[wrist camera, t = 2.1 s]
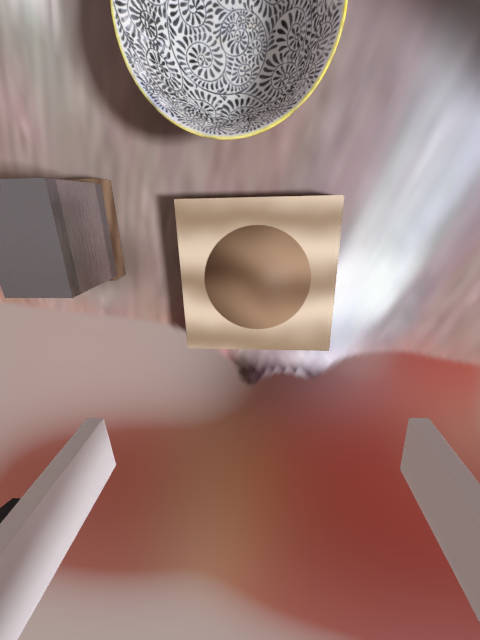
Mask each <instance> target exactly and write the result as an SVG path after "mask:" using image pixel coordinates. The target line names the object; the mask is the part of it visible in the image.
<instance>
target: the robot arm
mask: <svg viewBox="0 0 480 640" xmlns="http://www.w3.org/2000/svg"><path fill="white" fill-rule="evenodd" d="M115 466H116V463H115V460H114V456H113V452H112V448H111V445H110V441H109V437H108V433H107V430H106V427H105V422H104V419H103V418H87V419H86V420H85V422H84V423H83V424H82V425H81V426H80V428H79V429H78V430H77V431H76V433H75V434H74V435H73V436H72V437H71V438H70V440H69V441H68V442H67V443H66V445H65V446H64V447H63V448H62V449H61V451H60V452H59V453H58V454H57V455H56V457H55V458H54V459H53V460H52V462H51V463H50V464H49V465H48V467H47V468H46V469H45V470H44V471H43V473H42V474H41V475H40V476H39V477H38V479H37V480H36V481H35V482H34V483H33V485H32V486H31V487H30V488H29V490H28V491H27V492H26V493H25V494H24V496H23V497H22V498H21V499H19V498H12V499H11V500H10V501H9V502H7V503H6V504H5V505H4V506H2V507H1V508H0V640H17V639H18V637H19V636H20V634H21V632H22V630H23V629H24V627H25V625H26V623H27V622H28V620H29V618H30V616H31V614H32V613H33V611H34V609H35V607H36V606H37V604H38V602H39V600H40V599H41V597H42V595H43V593H44V592H45V589H46V588H47V586H48V584H49V583H50V581H51V579H52V577H53V576H54V574H55V572H56V570H57V569H58V567H59V565H60V563H61V561H62V560H63V558H64V556H65V554H66V553H67V551H68V549H69V547H70V546H71V544H72V542H73V540H74V538H75V537H76V535H77V533H78V531H79V530H80V528H81V526H82V524H83V523H84V521H85V519H86V517H87V515H88V514H89V512H90V510H91V508H92V507H93V505H94V503H95V501H96V500H97V497H98V496H99V494H100V492H101V491H102V489H103V487H104V485H105V483H106V482H107V480H108V478H109V477H110V474H111V473H112V471H113V469H114V468H115ZM400 469H401V471H402V473H403V475H404V477H405V479H406V481H407V483H408V485H409V487H410V489H411V491H412V493H413V495H414V496H415V498H416V500H417V502H418V504H419V506H420V508H421V510H422V512H423V514H424V516H425V518H426V520H427V522H428V524H429V525H430V527H431V529H432V531H433V533H434V535H435V537H436V539H437V541H438V543H439V545H440V547H441V549H442V550H443V552H444V554H445V556H446V558H447V560H448V562H449V564H450V566H451V568H452V570H453V572H454V574H455V576H456V578H457V579H458V581H459V583H460V585H461V587H462V589H463V591H464V593H465V595H466V597H467V599H468V601H469V603H470V605H471V606H472V608H473V610H474V612H475V614H476V616H477V618H478V620H479V622H480V484H479V482H478V481H477V480H476V479H475V477H474V476H473V475H472V474H471V472H470V471H469V470H468V468H467V467H466V466H465V464H464V463H463V462H462V461H461V459H460V458H459V457H458V455H457V454H456V453H455V452H454V450H453V449H452V448H451V446H450V445H449V444H448V443H447V441H446V440H445V439H444V437H443V436H442V435H441V433H440V432H439V431H438V430H437V428H436V427H435V426H434V424H433V423H432V422H431V421H430V419H429V418H409V421H408V427H407V433H406V438H405V444H404V450H403V456H402V461H401V467H400Z"/></svg>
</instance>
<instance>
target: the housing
mask: <svg viewBox="0 0 480 640" xmlns="http://www.w3.org/2000/svg"><path fill="white" fill-rule="evenodd" d="M116 276H117V272H116V266H115V260H114V254H113V249H112V243H111V237H110V231H109V225H108V220H107V214H106V208H105V202H104V196H103V191H102V185H101V184H97V183H88V182H79V181H70V180H61V179H52V178H17V179H0V284H1V287H2V290H3V293H4V296H5V298H73V297H75V296H77V295H80V294H82V293H84V292H86V291H88V290H90V289H92V288H94V287H96V286H98V285H100V284H102V283H104V282H106V281H108V280H110V279H112V278H114V277H116Z"/></svg>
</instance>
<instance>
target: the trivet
mask: <svg viewBox="0 0 480 640" xmlns="http://www.w3.org/2000/svg"><path fill="white" fill-rule="evenodd" d="M343 202H344V195H324V196H282V197H240V198H199V199H174V205H175V216H176V227H177V237H178V248H179V259H180V269H181V280H182V291H183V301H184V312H185V323H186V333H187V344H188V348H210V349H265V350H319V351H329V346H330V336H331V325H332V315H333V305H334V295H335V284H336V274H337V264H338V254H339V243H340V233H341V223H342V213H343Z"/></svg>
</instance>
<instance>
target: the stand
mask: <svg viewBox="0 0 480 640" xmlns="http://www.w3.org/2000/svg"><path fill="white" fill-rule="evenodd" d="M61 180H70V181H79V182H88V183H97V184H101V185H102V191H103V196H104V202H105V208H106V214H107V220H108V225H109V231H110V237H111V243H112V249H113V254H114V260H115V266H116V272H117V276H116V277H114V278H112V279H110V280H115V279H117V278H119V277H121V276H123V275H125V274H126V273H125V267H124V261H123V255H122V249H121V243H120V236H119V230H118V224H117V218H116V212H115V205H114V199H113V193H112V187H111V181H110V180H103V179H96V178H94V179H61Z"/></svg>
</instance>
